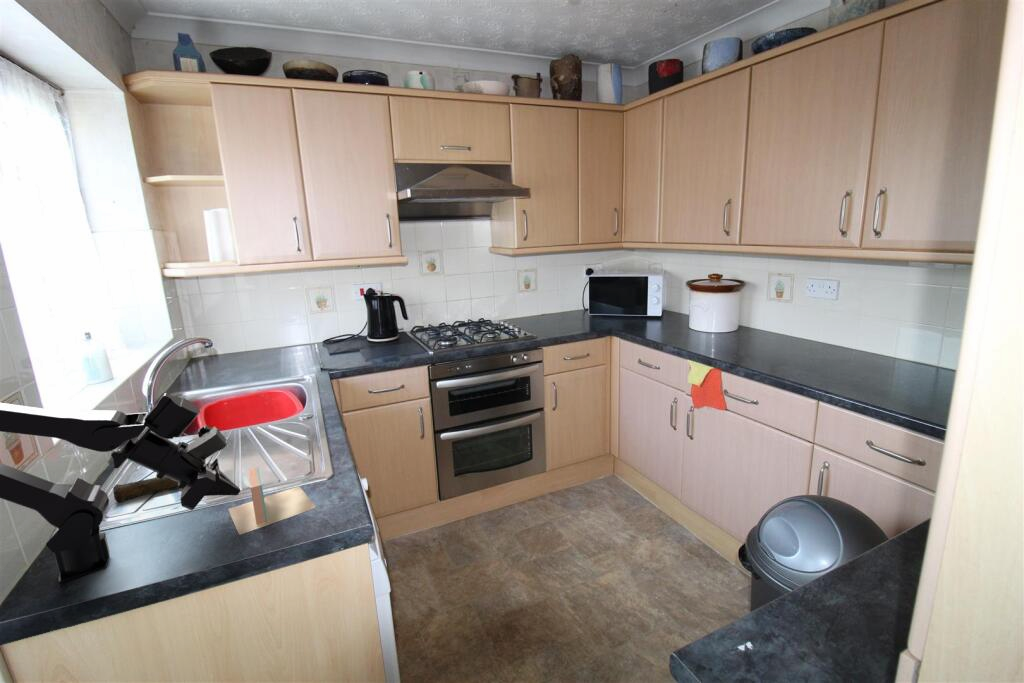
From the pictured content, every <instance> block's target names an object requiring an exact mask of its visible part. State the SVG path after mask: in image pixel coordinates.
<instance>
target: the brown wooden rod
mask: <svg viewBox="0 0 1024 683" xmlns="http://www.w3.org/2000/svg"><path fill="white" fill-rule="evenodd" d="M187 484H188V483H187ZM186 486H187V485H186ZM186 486H185V487H186ZM185 487H184V488H185ZM174 488H179V487H178V482H177V481H174V480H172V479H170V478H168V477H166V476H164V477H163V478H162V479H160V478H158V477H156V476H155V477H152V478H147V479H141V480H138V481H137V480H136V481H133V482H132V481H131V482H128V483H124V484H115V485H114V486H113V487H112V490H113V498H114V500H115V502H116V503H117V502H118V503H120V502H122V501H124V502H126V501H128V499H132V498H137V497H140V496H144V495H149V494H154V493H157V492H162V491H165V490H169V489H174ZM121 500H122V501H121ZM119 501H120V502H119Z"/></svg>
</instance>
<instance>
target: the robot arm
mask: <svg viewBox="0 0 1024 683" xmlns="http://www.w3.org/2000/svg"><path fill="white" fill-rule="evenodd" d="M200 413H201V409H200V408H199V407H198V406H197V405H195V404H194V403H193V402H191V401H190V400H188V399H187V398H185V397H178V396H177V395H171V394H169V393H167V392H165V393H163V394H162V395H161V397H160V398H159V399H158V402H157V403H156V404H155V405H154V406H153V407H152V409H151V410H150V411H149V412H147V411H146V412H133V413H124V412H123V411H120V410H116V409H115V410H113V409H109V410H108V409H107V410H106V409H104V410H103V409H91V410H82V411H63V410H57V409H51V408H50V409H49V408H44V407H35V406H27V405H21V404H20V405H19V404H15V403H12V404H11V403H7V402H5V403H4V402H0V432H2V433H11V434H20V435H29V436H38V437H46V438H52V439H54V438H55V439H59V440H63V441H65V442H67V443H70V444H72V445H74V446H76V447H80V448H83V449H87V450H92V451H95V452H99V453H100V452H101V453H108V452H111V454H110V456H111V458H112V459H113V460H112V461H113V465H114V466H113V467H114V469H116V470H117V469H119V468H120V467H121V466H122V465H123V464H124V462H126V461H127V460H129V461H130V462H133V463H135V464H137V465H139V466H141V467H143V468H146V469H148V470H150V471H153V472H155V473H156V475H155V477H158V478H160V479H162V478H163V477H164V476H166V477H168V478H170V479H172V480H174V481H177V482H178V487H177V488H181V489H182V491H181V494H180V505H181V507H183V508H185V509H187V510H190V511H193V510H195V509H196V507H197V506H198V505H199V503H200V502H201V501H202V500H203V499H204V498H205V497H210V496H211V497H212V496H214V497H215V496H237V495H239V494H240V493H241V489H240V488H239V487H238V486H237V485H236V484H235V483H234V482H233V481H232V480H231V479H230V478H228V476H226V475H225V474H224V473H223V471H221V469H220V463H219V459H218V457H217V458H215V459H214V460H213V462H212V463H211V462H207V463H206V461H207V460H206V459H208V458H209V457H210V456H212V455H214V454H215V453H217V452H221V451H222V450H223V449H224V448H226V447H227V444H228V443H227V438H226V437H225V436H224V434H222V432H221V429H219V428H218V427H216V426H213V427H211V426H209V425H203V426H202V427H200V428H198V429H197V433H198V434H197V435H198V437H195V438H194V440H193V441H192V442H190V443H187V442H185V441H179V442H178V443H175V442H174V441H172V439H174V438H180V436H182V434H183V433H184V432H185V431H186V430H187V428H188V427H189V426H190V425H191V424H192V423H193V422H194V420H195V419H196V418H197V417H198V416H199V414H200ZM170 439H171V440H170ZM124 443H125V444H124ZM122 445H123V446H122ZM121 446H122V447H121ZM187 483H188V484H187ZM186 485H187V486H186ZM185 486H186V487H185ZM101 488H102V485H100V484H99V485H98V484H97V485H96V484H91V483H90V482H87V481H86V480H84V479H82V478H79V477H76V478H75V479H74V481H73V483H72V484H71V483H70V484H67V483H66V484H64V483H61V484H60V483H55V482H51V481H49V480H47V479H45V478H41V477H38V476H36V475H33V474H31V473H28V472H26V471H23V470H20V469H17V468H15V467H12V466H10V465H6V464H5V463H2V462H0V499H2V500H4V501H7V502H11V503H12V504H16V505H19V506H21V507H25V508H27V509H31V510H33V511H36V512H37V513H38V514H39V515H40V516H41V517H42V518H43V519H44V520H45V521H46V522H47V523H48V524H49V525H51V526H53V527H54V529H53V530H52V533H50V536H49V538H48V539H47V541H46V544H45V546H46V547H47V548H48V549H49V550H50V551H51V552H52V553H53V555H54V558H55V559H54V560H55V563H56V566H57V569H58V573H59V574H58V575H59V576H58V583H59V584H61V583H65V582H69V581H70V580H74V579H77V578H80V577H83V576H85V575H89V574H92V573H95V572H97V571H100V570H103V569H106V567H108V560H109V559H110V557H111V556H110V547H109V542H108V538H107V535H106V534H107V533H106V532H101V527H100V525H101V524H102V522H103V520H104V517H105V516H106V512H107V510H108V507H109V503H110V499H109V496H108V493H107V492H105V491H104V490H102V489H101Z"/></svg>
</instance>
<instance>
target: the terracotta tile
mask: <svg viewBox="0 0 1024 683" xmlns="http://www.w3.org/2000/svg"><path fill="white" fill-rule="evenodd" d="M247 470H248V471H247V472H248V481H249V487H250V494H251V499H252V501H253V506H254V512H255V519H256V524H259V523H263V522H266V521H267V515H266V509H265V502H264V497H265V496H264V490H263V484H262V479H261V473H260V468H259V467H254V468H250V469H247Z"/></svg>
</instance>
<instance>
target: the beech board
mask: <svg viewBox="0 0 1024 683" xmlns="http://www.w3.org/2000/svg"><path fill="white" fill-rule="evenodd" d="M264 502H265V509H266V515H267V521H266V522H263V523H259V524H256V519H255V512H254V506H253V500H252V501H248V502H245V503H243V504H240V505H236V506H234V507H230V508H228V509H227V510H228V512H229V515H230V517H231V520H232V521H233V523H234V526H235V528H236V530H237V533H238V535H239V536H241V535H243V534H246V533H249V532H252V531H254V530H259V529H260V528H264V527H266V526H268V525H271V524H274V523H278V522H280V521H283V520H286V519H289V518H291V517H295V516H297V515H300V514H304V513H305V512H309V511H311V510H315V509H317V508H316V506H315V504H314V503H313V502H312V501H311V499H310V498H309V496H308V495H307V494H306V493H305V491H304V490H303V489H302V488H301V486H299V485H298V486H296V487H293V488H288V489H285V490H282V491H281V492H280V491H279V492H277V493H273V494H270V495H267V496H264Z"/></svg>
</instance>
